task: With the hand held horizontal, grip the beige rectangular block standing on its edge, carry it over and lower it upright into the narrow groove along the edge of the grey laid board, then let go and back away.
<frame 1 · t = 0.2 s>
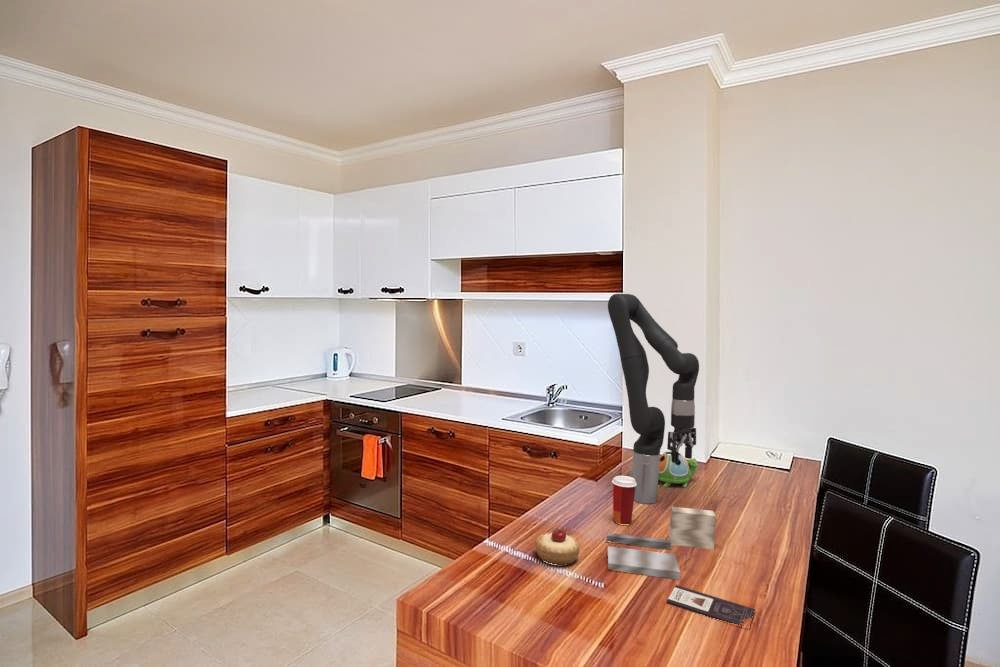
hand: (681, 460, 184), 18 cm above the table, tool pointing down, fingers open, 8 cm apart
chocolate bar: (710, 609, 128), on the table
mating board: (639, 551, 155), on the table
beige rectangular block: (690, 544, 161), on the table
paper cup: (621, 522, 175), on the table
turtle holder: (674, 483, 216), on the table
pastry: (557, 558, 149), on the table
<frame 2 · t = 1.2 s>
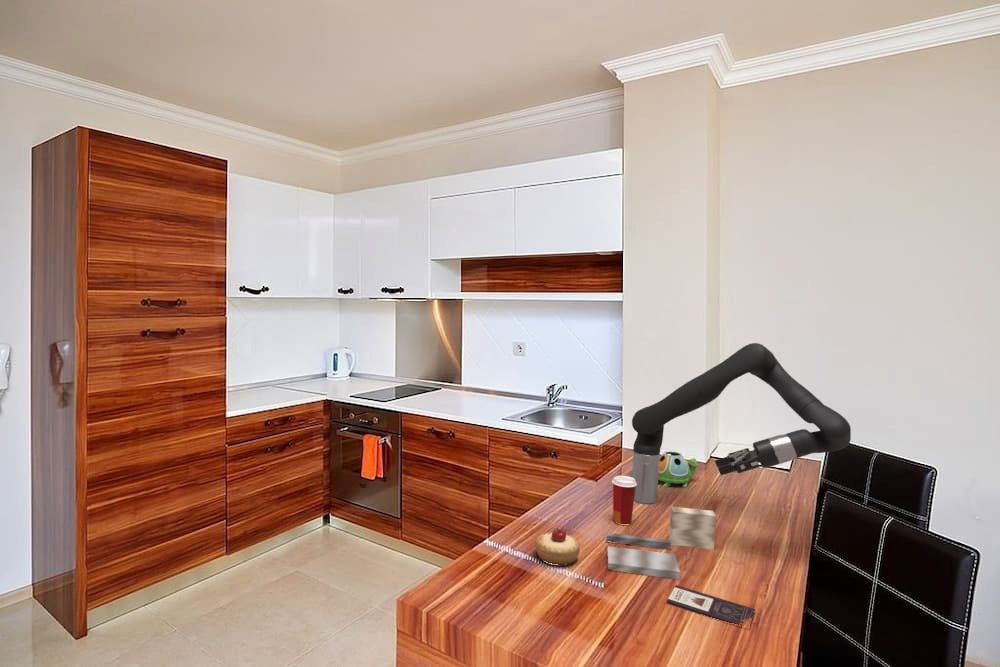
hand: (717, 467, 159), 23 cm above the table, tool tilted 65°, fingers open, 8 cm apart
nothing on the table moved.
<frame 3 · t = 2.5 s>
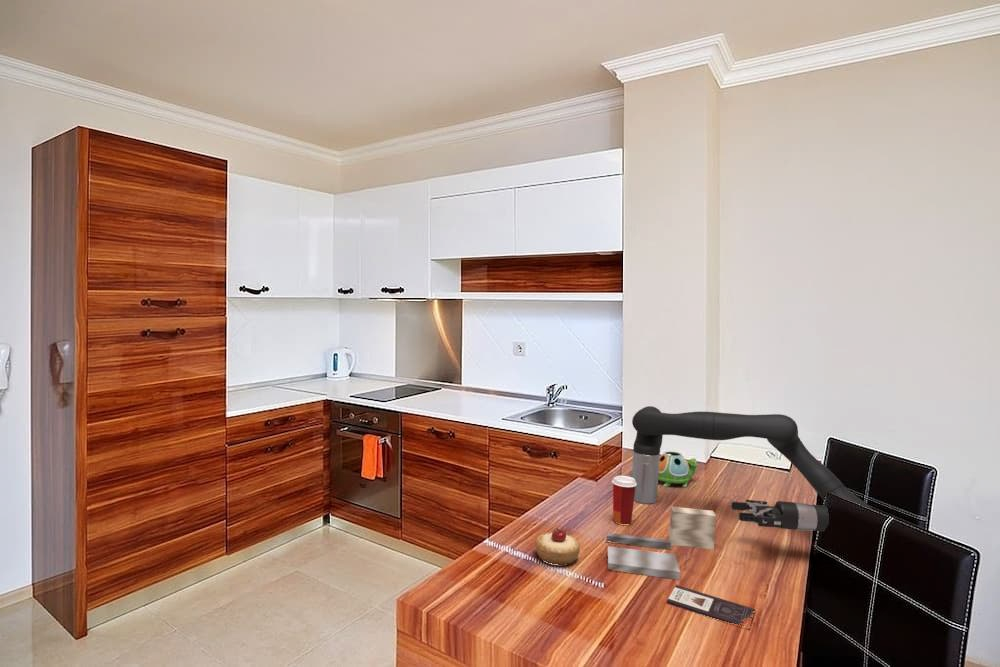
hand: (735, 510, 159), 11 cm above the table, tool horizontal, fingers open, 8 cm apart
nothing on the table moved.
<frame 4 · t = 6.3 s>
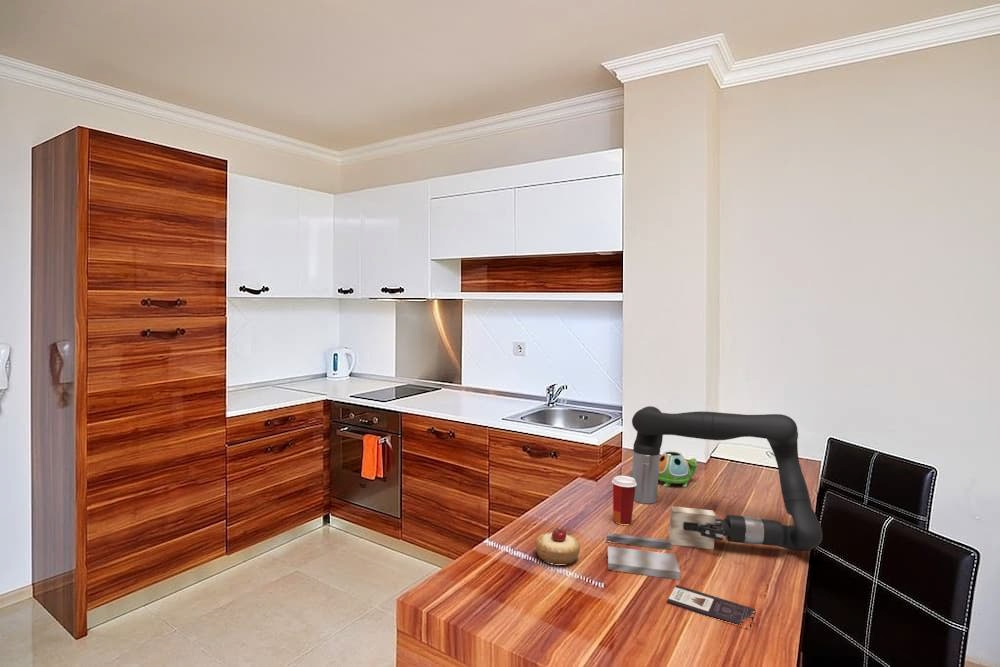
hand: (682, 522, 161), 6 cm above the table, tool horizontal, fingers closed on beige rectangular block, 4 cm apart
beige rectangular block: (690, 543, 161), on the table, touching gripper
everything else where it was.
when the fingers open (8 cm above the table, at t = 11.8 s): beige rectangular block drops 2 cm, on the table.
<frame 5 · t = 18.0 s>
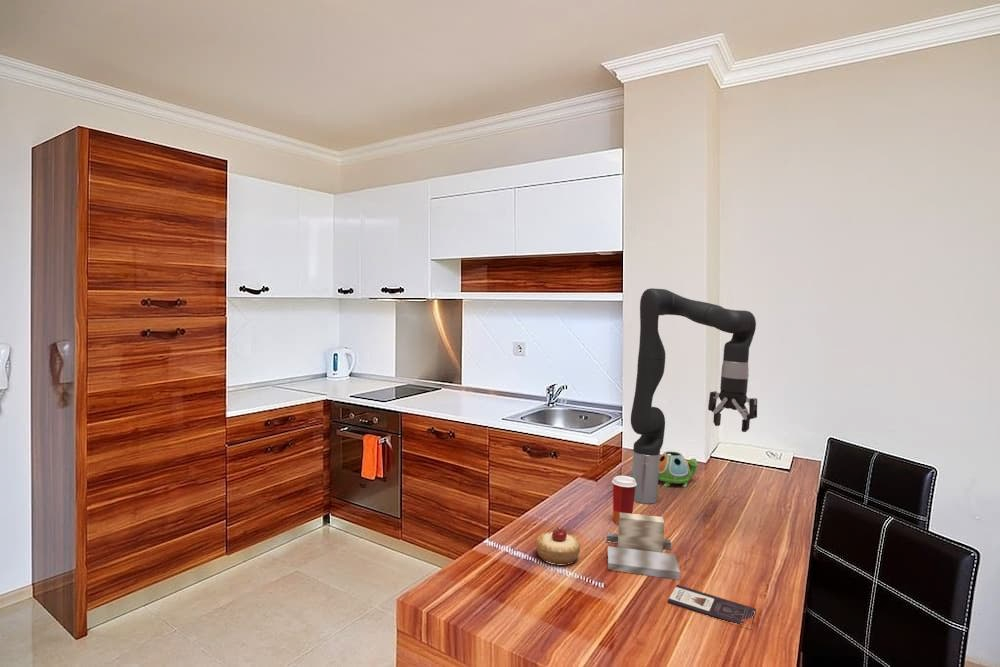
hand: (730, 428, 167), 33 cm above the table, tool pointing down, fingers open, 8 cm apart
beige rectangular block: (639, 551, 155), on the table
everything else where it was.
at the end: beige rectangular block 0.1 cm from the mating board (horizontally); beige rectangular block tilted 0°; the gripper is holding nothing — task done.
